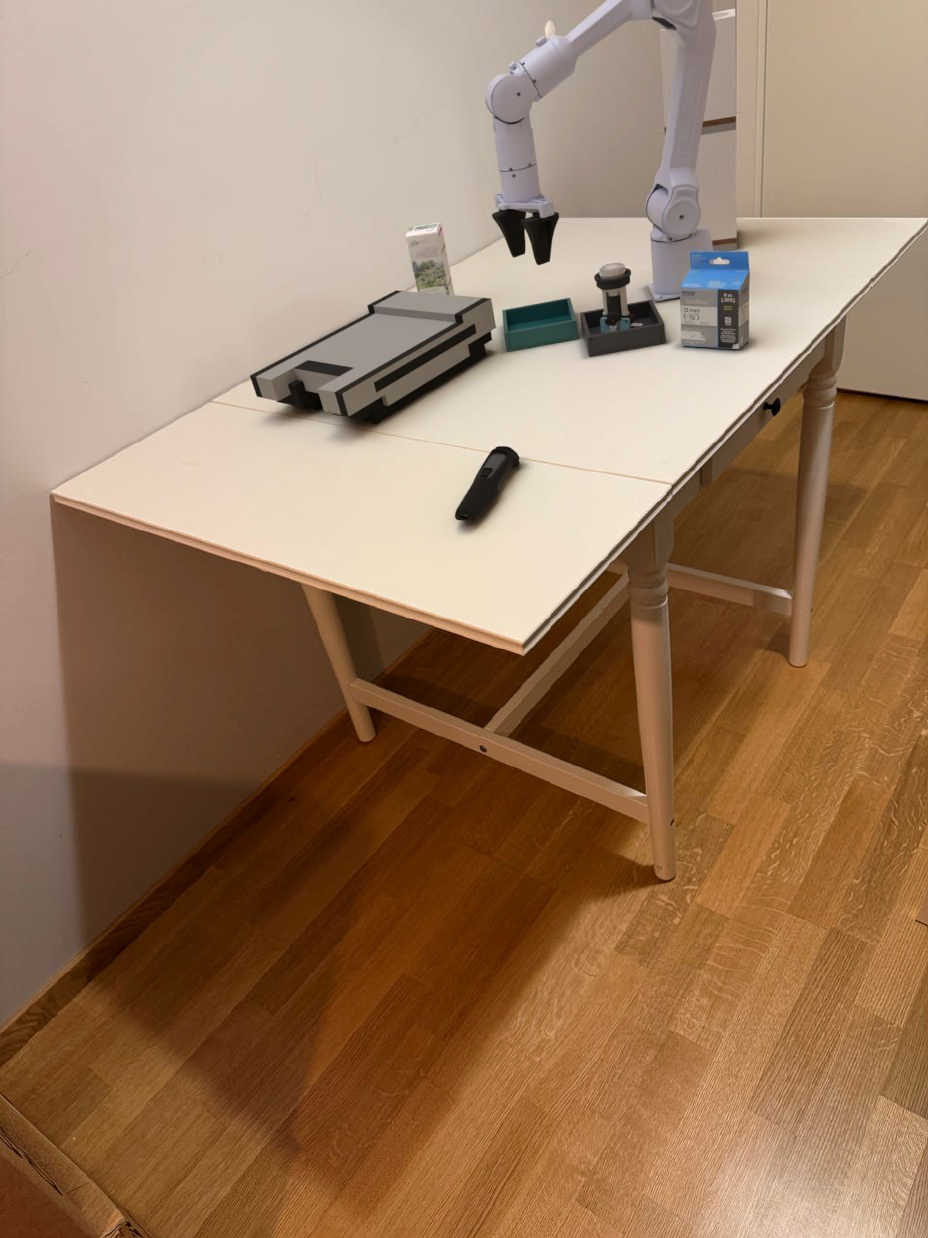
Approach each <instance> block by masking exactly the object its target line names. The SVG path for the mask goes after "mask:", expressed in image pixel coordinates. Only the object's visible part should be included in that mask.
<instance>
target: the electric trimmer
mask: <svg viewBox="0 0 928 1238" xmlns="http://www.w3.org/2000/svg"><path fill="white" fill-rule="evenodd" d="M520 463H521V462H520V456H519V454H518V453H517V451H516V450H515V449H513V448H512V447H510V446H507V445H499V446H496V447H495V448H493V449H491V450H490V452H489V454H488V455H487V456H486V458H485V460H484V461H483V463H482V464H481V466H480V468H479V470H478V471H477V473H476V475H475V477H474V479H473V481H472V483H471V485H470V487H469V489H468V490H467V492H466V493H465V494H464V497H463V498H462V500H461V501H460V503H459V505H458V506H457V508H456V509H455V513H454V519H455V520H456V521H463V522H465V521H467V522H474V521H476V520H477V519H478V518H479V517H480V516H481V515H482V514H483V513H484V512H485V511H486V510H487V509H488V508H489V507H490V506H491V504H492V503H493V502H494V501H495V500H496V499H497V497H498V496H499V486H500V485H501V483H502V482H503V480H504V478H505V477H506V476H507V474H508V472H509V471H510V470H511V468H512V467H518V466H519V465H520Z"/></svg>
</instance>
